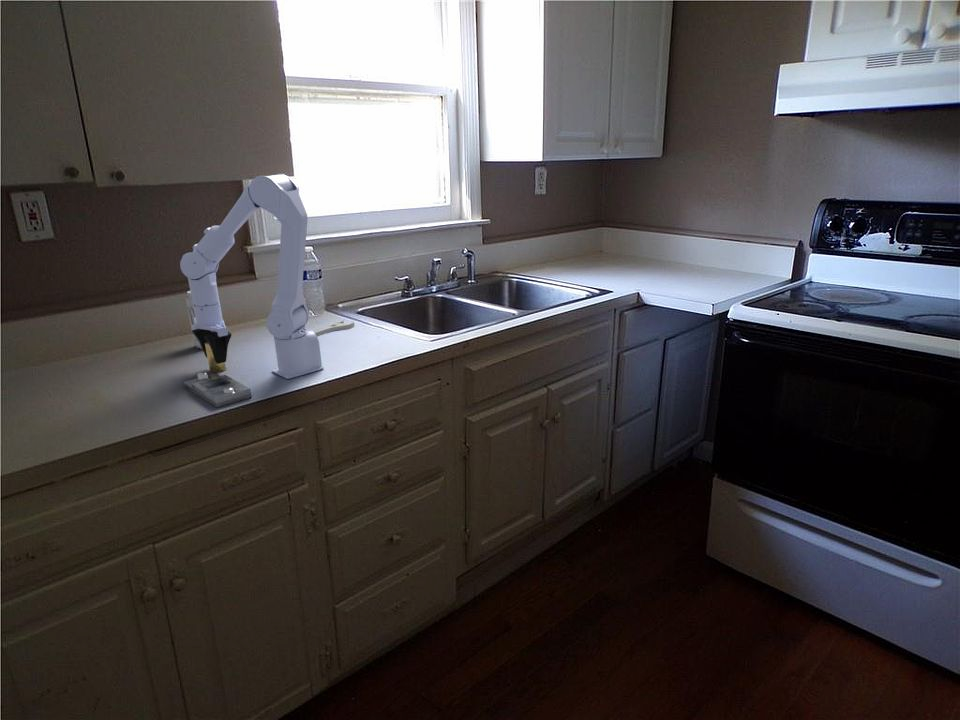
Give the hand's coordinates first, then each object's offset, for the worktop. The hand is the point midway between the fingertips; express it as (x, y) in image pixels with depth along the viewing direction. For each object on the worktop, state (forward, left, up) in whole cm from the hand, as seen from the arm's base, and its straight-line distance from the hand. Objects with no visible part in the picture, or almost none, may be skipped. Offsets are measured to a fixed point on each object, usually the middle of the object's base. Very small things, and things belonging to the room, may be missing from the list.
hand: (216, 359), depth 148 cm
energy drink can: (-6, -22, -3) cm, 23 cm away
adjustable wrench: (-32, -9, -3) cm, 33 cm away
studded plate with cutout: (+6, +14, -3) cm, 15 cm away
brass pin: (0, 0, -3) cm, 3 cm away
